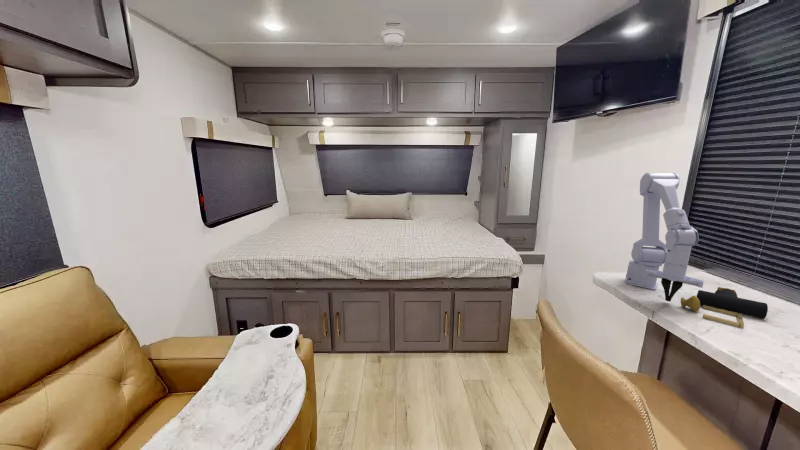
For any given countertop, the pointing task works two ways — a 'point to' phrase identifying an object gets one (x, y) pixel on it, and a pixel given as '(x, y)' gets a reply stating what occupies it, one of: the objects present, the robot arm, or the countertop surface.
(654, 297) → the countertop surface
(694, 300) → the knob
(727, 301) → the pipe connector
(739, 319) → the u-shaped bracket
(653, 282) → the robot arm
